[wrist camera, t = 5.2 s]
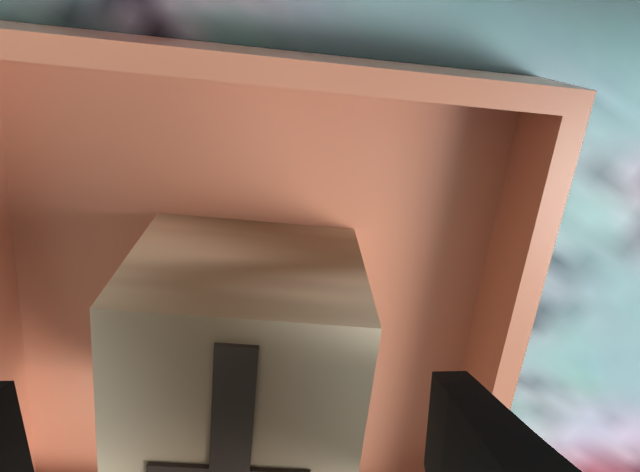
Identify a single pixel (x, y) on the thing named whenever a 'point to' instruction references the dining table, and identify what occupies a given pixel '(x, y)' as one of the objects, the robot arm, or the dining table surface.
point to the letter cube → (234, 349)
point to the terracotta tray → (276, 203)
